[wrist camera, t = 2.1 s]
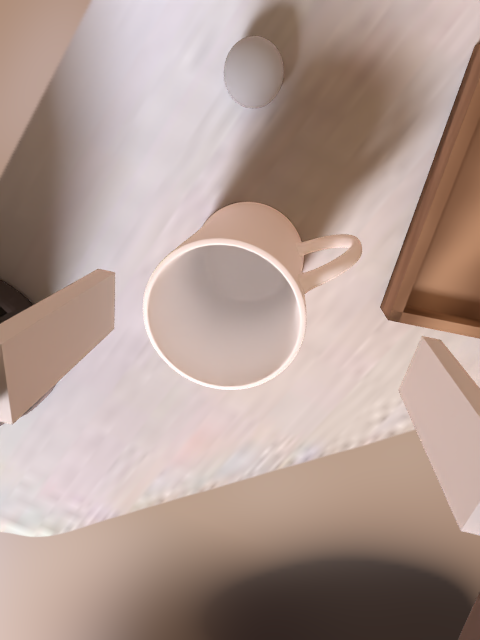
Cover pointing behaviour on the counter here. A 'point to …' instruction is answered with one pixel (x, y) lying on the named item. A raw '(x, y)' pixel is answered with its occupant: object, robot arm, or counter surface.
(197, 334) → the mug
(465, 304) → the tray
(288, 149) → the counter surface
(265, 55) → the ball
